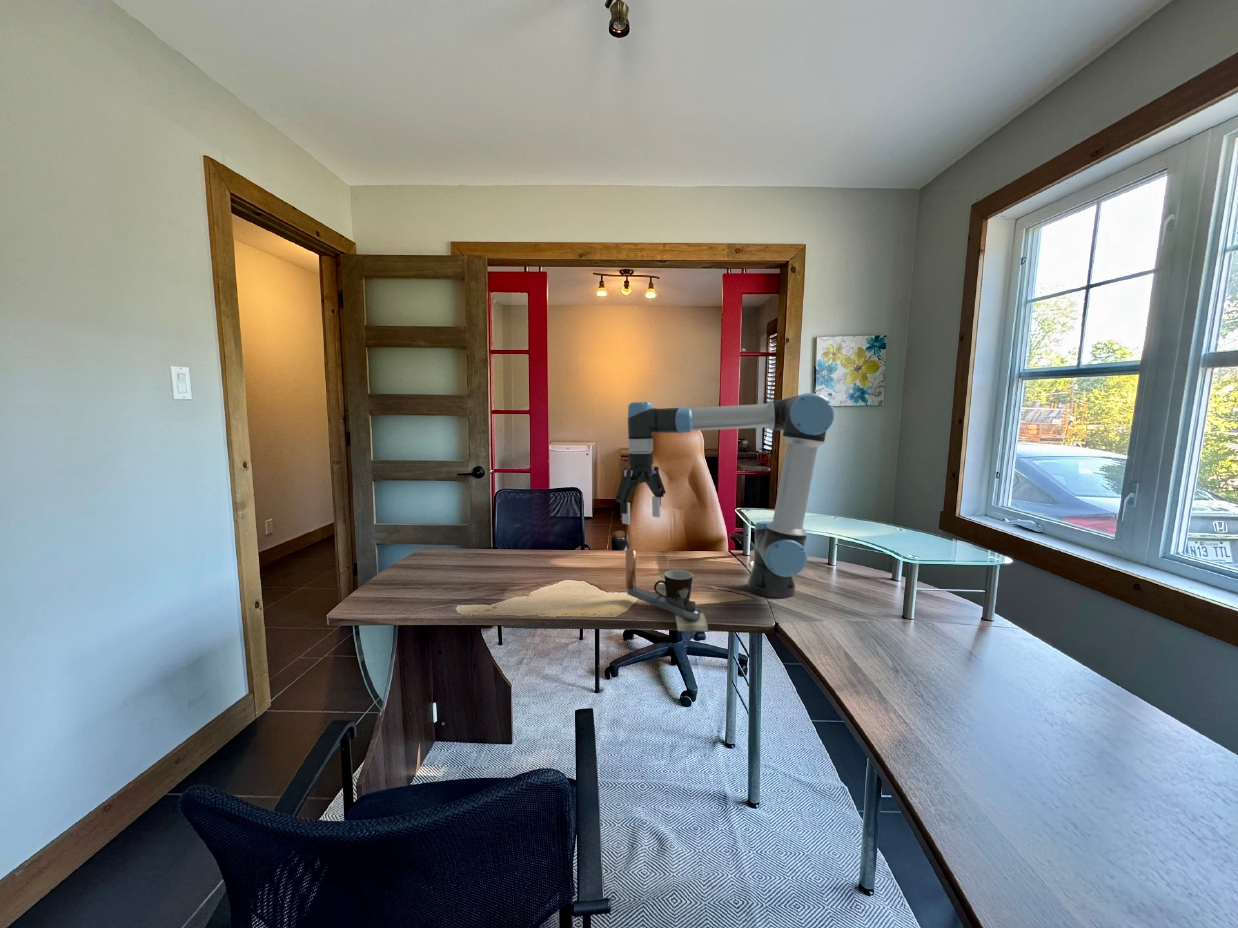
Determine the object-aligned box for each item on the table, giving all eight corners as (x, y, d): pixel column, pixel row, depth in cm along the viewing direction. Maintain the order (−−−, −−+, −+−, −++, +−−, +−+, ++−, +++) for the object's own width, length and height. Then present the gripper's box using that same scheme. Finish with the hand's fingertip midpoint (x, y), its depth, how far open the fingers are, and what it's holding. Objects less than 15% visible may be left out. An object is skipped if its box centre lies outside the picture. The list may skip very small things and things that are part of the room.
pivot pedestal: (703, 618, 133) (703, 597, 133) (707, 631, 125) (708, 608, 125) (675, 618, 134) (675, 596, 133) (677, 630, 126) (678, 607, 125)
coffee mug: (691, 601, 146) (692, 570, 145) (693, 612, 137) (693, 579, 136) (654, 599, 147) (654, 569, 146) (653, 611, 139) (653, 578, 138)
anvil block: (685, 593, 153) (686, 581, 152) (686, 596, 150) (686, 584, 150) (655, 592, 153) (655, 581, 153) (655, 595, 150) (655, 583, 150)
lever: (706, 617, 130) (708, 566, 129) (692, 624, 126) (693, 571, 125) (635, 590, 151) (636, 546, 149) (621, 595, 146) (621, 550, 145)
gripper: (658, 449, 155) (659, 512, 157) (602, 454, 138) (604, 525, 140) (676, 450, 150) (676, 515, 152) (620, 455, 133) (621, 529, 135)
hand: (641, 520), depth 146 cm, fingers open, 13 cm apart
